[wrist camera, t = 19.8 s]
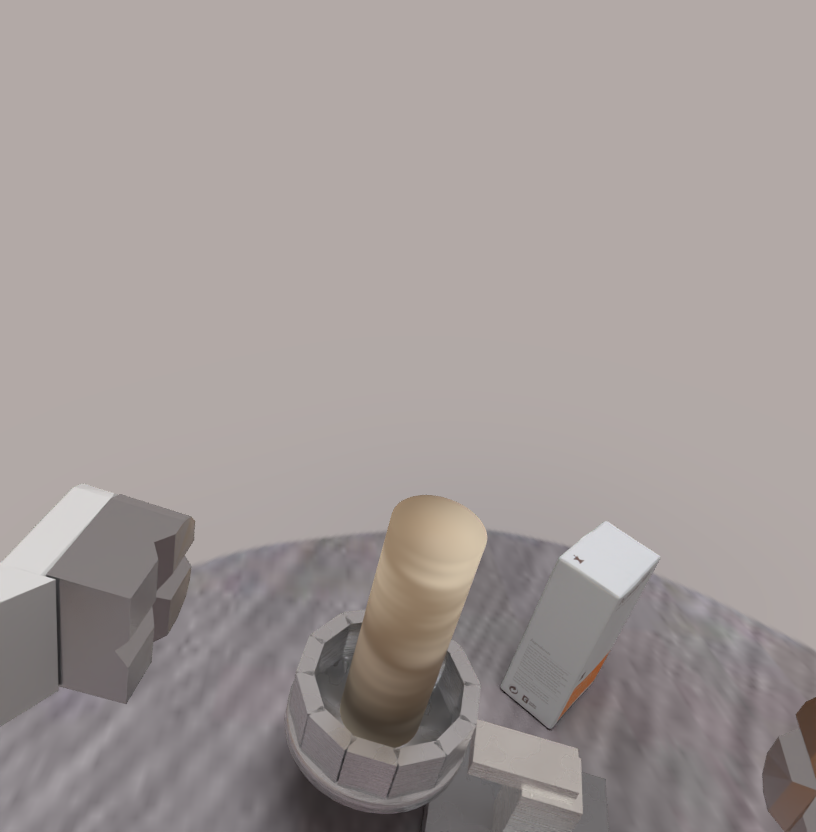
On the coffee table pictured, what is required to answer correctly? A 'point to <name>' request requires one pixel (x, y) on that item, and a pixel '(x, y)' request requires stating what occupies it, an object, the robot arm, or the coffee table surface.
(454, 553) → the rail post
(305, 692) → the cup bracket
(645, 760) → the coffee table surface
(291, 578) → the coffee table surface
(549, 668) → the skincare box
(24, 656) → the robot arm
